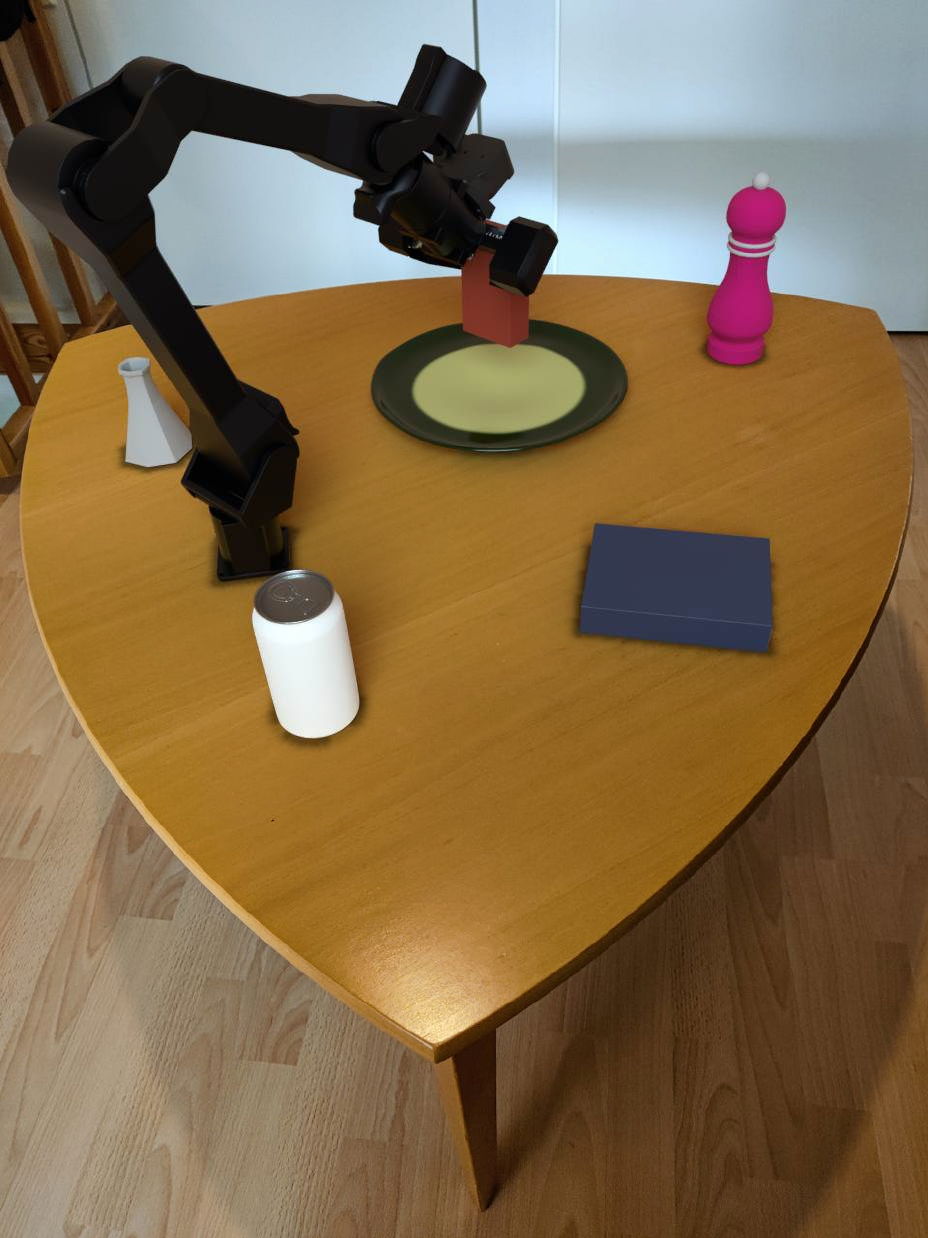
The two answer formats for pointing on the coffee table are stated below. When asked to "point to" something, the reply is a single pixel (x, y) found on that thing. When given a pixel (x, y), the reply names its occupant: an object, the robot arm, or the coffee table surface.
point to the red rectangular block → (491, 304)
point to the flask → (151, 419)
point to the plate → (499, 387)
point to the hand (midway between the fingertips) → (504, 275)
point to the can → (306, 653)
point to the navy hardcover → (678, 587)
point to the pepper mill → (746, 275)
